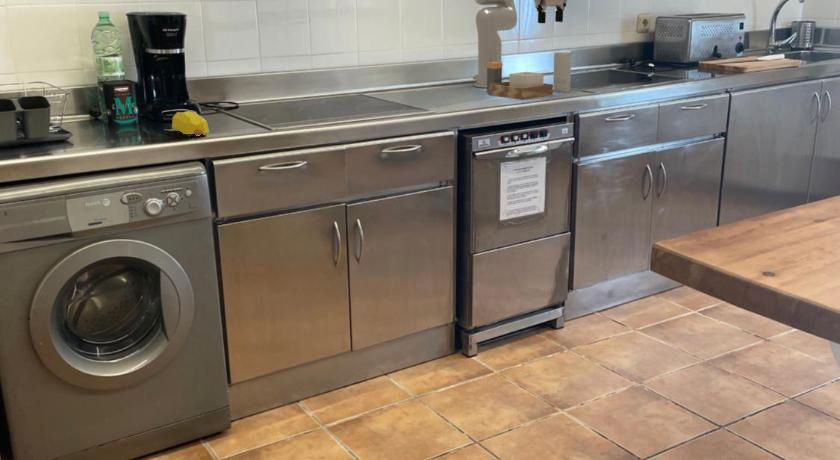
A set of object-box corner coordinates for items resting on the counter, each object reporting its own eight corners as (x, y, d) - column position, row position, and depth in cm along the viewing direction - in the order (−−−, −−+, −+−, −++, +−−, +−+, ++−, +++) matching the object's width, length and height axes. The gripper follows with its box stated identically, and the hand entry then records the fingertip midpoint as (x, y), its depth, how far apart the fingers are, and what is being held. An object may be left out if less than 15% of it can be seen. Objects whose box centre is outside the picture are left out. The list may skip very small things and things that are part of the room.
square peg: (486, 93, 319) (486, 62, 315) (494, 92, 322) (494, 61, 318) (494, 95, 316) (494, 63, 312) (501, 93, 319) (502, 62, 315)
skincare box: (569, 93, 317) (571, 52, 312) (552, 93, 318) (553, 52, 313) (570, 90, 324) (571, 50, 320) (553, 90, 326) (554, 50, 321)
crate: (488, 96, 313) (488, 84, 312) (517, 91, 323) (518, 80, 321) (523, 101, 300) (523, 88, 298) (552, 96, 309) (552, 84, 308)
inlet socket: (509, 95, 311) (509, 73, 308) (525, 92, 316) (526, 71, 314) (526, 97, 304) (527, 75, 302) (543, 95, 310) (543, 73, 307)
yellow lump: (194, 128, 258) (169, 131, 254) (192, 107, 256) (167, 109, 252) (213, 137, 244) (187, 140, 240) (210, 115, 242) (185, 117, 238)
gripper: (559, -27, 305) (557, 20, 310) (528, -26, 294) (526, 23, 300) (575, -27, 300) (573, 21, 305) (544, -26, 289) (542, 24, 294)
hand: (550, 22), depth 302 cm, fingers open, 9 cm apart
